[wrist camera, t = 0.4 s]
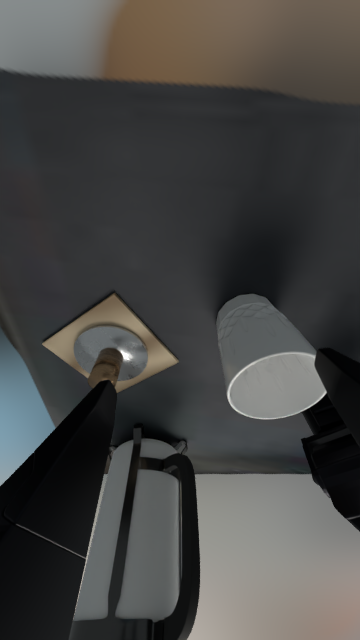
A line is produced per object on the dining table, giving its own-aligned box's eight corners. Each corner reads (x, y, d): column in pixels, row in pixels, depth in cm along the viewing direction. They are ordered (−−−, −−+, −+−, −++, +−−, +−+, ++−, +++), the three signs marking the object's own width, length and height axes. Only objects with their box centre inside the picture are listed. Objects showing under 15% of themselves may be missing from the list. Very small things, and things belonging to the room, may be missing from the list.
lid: (162, 360, 28) (160, 389, 24) (111, 386, 30) (102, 416, 27) (113, 311, 24) (101, 337, 20) (59, 346, 26) (39, 375, 22)
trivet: (178, 360, 28) (178, 362, 28) (112, 393, 32) (111, 395, 32) (114, 292, 23) (113, 294, 22) (43, 342, 26) (41, 344, 26)
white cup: (200, 336, 26) (211, 410, 18) (228, 279, 22) (258, 340, 14) (257, 351, 28) (292, 425, 19) (293, 299, 23) (357, 366, 15)
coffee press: (194, 461, 44) (215, 829, 19) (117, 464, 45) (40, 828, 20) (191, 411, 35) (227, 1017, 10) (94, 415, 35) (-114, 1005, 10)
